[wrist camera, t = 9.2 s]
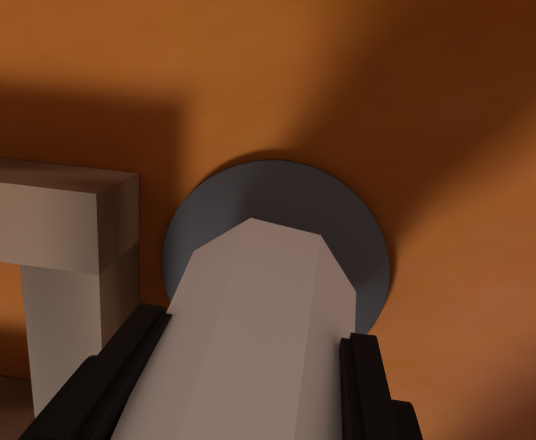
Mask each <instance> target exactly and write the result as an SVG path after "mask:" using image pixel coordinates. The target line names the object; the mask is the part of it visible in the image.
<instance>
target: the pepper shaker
mask: <svg viewBox="0 0 536 440" xmlns="http://www.w3.org/2000/svg"><path fill="white" fill-rule="evenodd" d="M355 311H356V291H355V289H354V288H353V286H352V285H351V283H350V281H349V280H348V278H347V277H346V275H345V273H344V272H343V270H342V269H341V267H340V265H339V264H338V262H337V261H336V259H335V257H334V256H333V254H332V253H331V251H330V249H329V248H328V246H327V245H326V243H325V241H324V240H323V238H322V237H321V235H318V234H314V233H310V232H306V231H302V230H298V229H294V228H290V227H286V226H282V225H278V224H274V223H270V222H266V221H262V220H257V219H253V218H250V219H248V220H246V221H244V222H243V223H241V224H239V225H238V226H236V227H234V228H232V229H231V230H229V231H227V232H226V233H224V234H222V235H221V236H219V237H217V238H215V239H214V240H212V241H210V242H209V243H207V244H205V245H203V246H202V247H200V248H198V249H197V250H195V251H194V252H193V254H192V256H191V258H190V261H189V263H188V265H187V267H186V270H185V272H184V274H183V276H182V279H181V281H180V283H179V285H178V288H177V290H176V292H175V294H174V297H173V299H172V301H171V304H170V306H169V308H168V310H167V313H169V314H172V317H171V319H170V321H169V322H168V324H167V326H166V328H165V330H164V332H163V334H162V336H161V338H160V339H159V341H158V343H157V345H156V347H155V349H154V351H153V353H152V355H151V356H150V358H149V360H148V362H147V364H146V366H145V368H144V370H143V372H142V373H141V375H140V377H139V379H138V381H137V383H136V385H135V387H134V389H133V390H132V392H131V394H130V396H129V399H128V401H127V403H126V405H125V408H124V410H123V412H122V414H121V417H120V419H119V421H118V423H117V426H116V428H115V430H114V432H113V435H112V437H111V439H110V440H343V437H342V409H341V381H340V353H339V344H340V340H341V338H348V339H349V337H350V334H351V332H352V333H355Z"/></svg>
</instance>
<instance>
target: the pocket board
mask: <svg viewBox="0 0 536 440" xmlns="http://www.w3.org/2000/svg"><path fill="white" fill-rule="evenodd" d="M0 262H6V263H13V264H20V272H21V282H22V292H23V302H24V312H25V322H26V333H27V343H28V353H29V363H30V373H31V381H29V380H23V379H17V378H10V377H4V376H0V440H17V439H18V438H19V437H20V436H21V435H22V433H23V432H24V431H25V430H26V429H27V428H28V426H29V425H30V424H31V423H32V422H33V420H34V419H35V418H36V417H37V416H38V415H39V413H40V412H41V411H42V410H43V409H44V407H45V406H46V405H47V404H48V403H49V402H50V400H51V399H52V398H53V397H54V396H55V395H56V393H57V392H58V391H59V390H60V389H61V387H62V386H63V385H64V384H65V383H66V382H67V380H68V379H69V378H70V377H71V376H72V374H73V373H74V372H75V371H76V370H77V369H78V367H79V366H80V365H81V364H82V363H83V362H84V360H85V359H87V358H88V357H89V356H92V355H98V354H99V352H100V351H101V350H102V349H103V347H104V346H105V345H106V344H107V343H108V341H109V340H110V339H111V338H112V336H113V335H114V334H115V333H116V332H117V330H118V329H119V328H120V327H121V325H122V324H123V323H124V322H125V321H126V319H127V318H128V317H129V316H130V314H131V313H132V312H133V311H134V310H135V308H136V307H137V306H138V305H139V173H133V172H124V171H115V170H107V169H98V168H89V167H80V166H71V165H63V164H54V163H45V162H36V161H27V160H19V159H10V158H1V157H0Z"/></svg>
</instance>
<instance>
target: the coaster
mask: <svg viewBox="0 0 536 440" xmlns="http://www.w3.org/2000/svg"><path fill="white" fill-rule="evenodd" d="M250 218H253V219H257V220H262V221H266V222H270V223H274V224H278V225H282V226H286V227H290V228H294V229H298V230H302V231H306V232H310V233H314V234H318V235H321V237H322V238H323V240H324V241H325V243H326V245H327V246H328V248H329V249H330V251H331V253H332V254H333V256H334V257H335V259H336V261H337V262H338V264H339V265H340V267H341V269H342V270H343V272H344V273H345V275H346V277H347V278H348V280H349V281H350V283H351V285H352V286H353V288H354V289H355V291H356V311H355V333H359V334H367V333H368V332H369V331H370V329H371V328H372V327H373V325H374V324H375V322H376V320H377V319H378V317H379V315H380V313H381V311H382V308H383V306H384V304H385V300H386V296H387V293H388V288H389V279H390V262H389V256H388V250H387V246H386V243H385V240H384V237H383V234H382V231H381V229H380V227H379V225H378V223H377V221H376V219H375V217H374V215H373V214H372V213H371V211H370V210H369V208H368V207H367V205H366V204H365V203H364V202H363V201H362V199H361V198H360V197H359V196H358V195H357V194H356V193H355V192H354V191H353V190H352V189H350V188H349V187H348V186H347V185H346V184H344V183H343V182H342V181H340V180H338V179H337V178H335V177H334V176H332V175H331V174H329V173H326V172H324V171H322V170H320V169H318V168H316V167H312V166H309V165H306V164H303V163H299V162H293V161H287V160H272V159H268V160H257V161H250V162H246V163H242V164H238V165H235V166H232V167H230V168H227V169H224V170H222V171H221V172H219V173H217V174H215V175H213V176H211V177H210V178H209V179H207V180H206V181H205V182H203V183H202V184H200V185H199V186H198V187H197V188H196V189H195V190H194V191H193V192H192V193H191V194H190V195H189V196H188V197H187V198H186V199H185V200H184V201H183V203H182V204H181V205H180V207H179V208H178V209H177V211H176V213H175V215H174V216H173V218H172V220H171V222H170V224H169V227H168V230H167V232H166V235H165V240H164V244H163V251H162V275H163V280H164V285H165V289H166V292H167V295H168V298H169V301H170V303H171V301H172V299H173V297H174V294H175V292H176V290H177V288H178V285H179V283H180V281H181V279H182V276H183V274H184V272H185V270H186V267H187V265H188V263H189V261H190V258H191V256H192V254H193V252H194V251H195V250H197V249H198V248H200V247H202V246H203V245H205V244H207V243H209V242H210V241H212V240H214V239H215V238H217V237H219V236H221V235H222V234H224V233H226V232H227V231H229V230H231V229H232V228H234V227H236V226H238V225H239V224H241V223H243V222H244V221H246V220H248V219H250Z"/></svg>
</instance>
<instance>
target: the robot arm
mask: <svg viewBox="0 0 536 440" xmlns="http://www.w3.org/2000/svg"><path fill="white" fill-rule="evenodd" d="M171 317H172V314H169V313H166V309H165V307H164V306H156V305H149V304H139V305H138V306H137V307H136V308H135V310H134V311H133V312H132V313H131V314H130V316H129V317H128V318H127V319H126V321H125V322H124V323H123V324H122V325H121V327H120V328H119V329H118V330H117V332H116V333H115V334H114V335H113V336H112V338H111V339H110V340H109V341H108V343H107V344H106V345H105V346H104V347H103V349H102V350H101V351H100V352H99V354H98V355H92V356H89V357H88V358H87V359H85V360H84V362H83V363H82V364H81V365H80V366H79V367H78V369H77V370H76V371H75V372H74V373H73V374H72V376H71V377H70V378H69V379H68V380H67V382H66V383H65V384H64V385H63V386H62V387H61V389H60V390H59V391H58V392H57V393H56V395H55V396H54V397H53V398H52V399H51V400H50V402H49V403H48V404H47V405H46V406H45V407H44V409H43V410H42V411H41V412H40V413H39V415H38V416H37V417H36V418H35V419H34V420H33V422H32V423H31V424H30V425H29V426H28V428H27V429H26V430H25V431H24V432H23V433H22V435H21V436H20V437H19V438H18V439H17V440H110V439H111V437H112V435H113V432H114V430H115V428H116V426H117V423H118V421H119V419H120V417H121V414H122V412H123V410H124V408H125V405H126V403H127V401H128V399H129V396H130V394H131V392H132V390H133V389H134V387H135V385H136V383H137V381H138V379H139V377H140V375H141V373H142V372H143V370H144V368H145V366H146V364H147V362H148V360H149V358H150V356H151V355H152V353H153V351H154V349H155V347H156V345H157V343H158V341H159V339H160V338H161V336H162V334H163V332H164V330H165V328H166V326H167V324H168V322H169V321H170V319H171ZM339 353H340V381H341V409H342V437H343V440H423V438H422V434H421V431H420V428H419V424H418V421H417V417H416V414H415V411H414V408H413V406H412V404H411V403H410V402H405V401H399V400H392V399H391V396H390V392H389V388H388V383H387V379H386V375H385V371H384V366H383V362H382V358H381V353H380V349H379V345H378V341H377V337H376V336H374V335H367V334H359V333H352V332H351V334H350V337H349V339H348V338H341V340H340V344H339Z"/></svg>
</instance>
